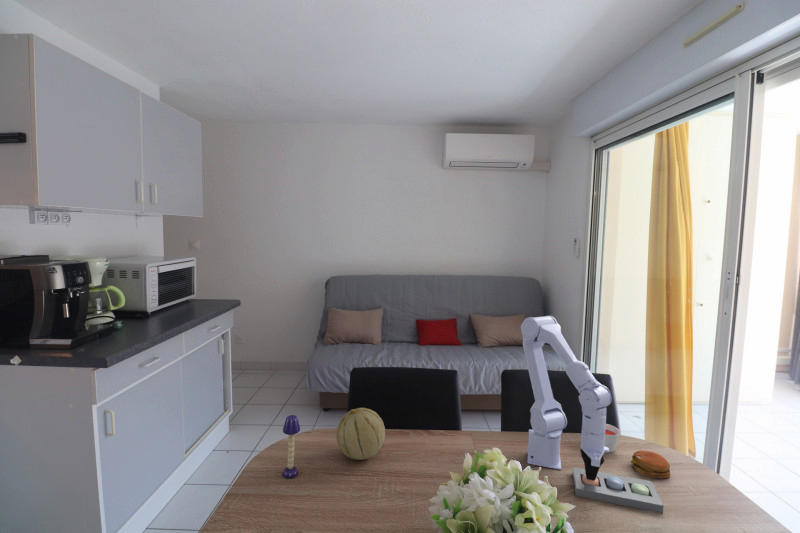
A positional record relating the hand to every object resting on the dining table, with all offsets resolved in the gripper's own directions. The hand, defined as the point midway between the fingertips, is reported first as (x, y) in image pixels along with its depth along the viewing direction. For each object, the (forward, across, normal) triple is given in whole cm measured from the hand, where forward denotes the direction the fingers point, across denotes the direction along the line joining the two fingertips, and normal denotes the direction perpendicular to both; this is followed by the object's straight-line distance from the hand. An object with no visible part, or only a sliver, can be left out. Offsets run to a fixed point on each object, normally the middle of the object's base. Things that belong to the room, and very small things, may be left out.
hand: (590, 478), depth 112 cm
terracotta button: (+2, 0, 0) cm, 2 cm away
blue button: (+1, 0, -6) cm, 6 cm away
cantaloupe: (+3, -8, +65) cm, 66 cm away
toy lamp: (+3, -24, +79) cm, 83 cm away
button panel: (+2, 0, -6) cm, 6 cm away
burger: (+3, +16, -18) cm, 24 cm away
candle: (+3, +26, -7) cm, 27 cm away
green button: (+2, 0, -12) cm, 12 cm away
